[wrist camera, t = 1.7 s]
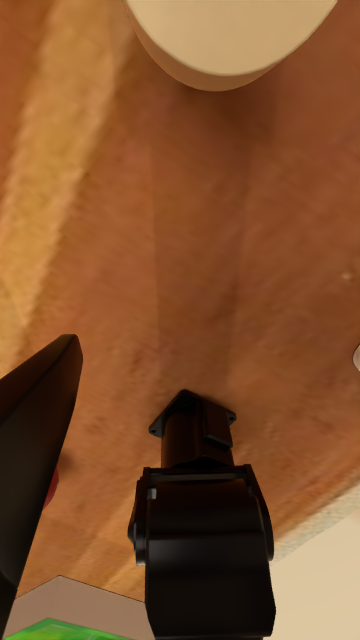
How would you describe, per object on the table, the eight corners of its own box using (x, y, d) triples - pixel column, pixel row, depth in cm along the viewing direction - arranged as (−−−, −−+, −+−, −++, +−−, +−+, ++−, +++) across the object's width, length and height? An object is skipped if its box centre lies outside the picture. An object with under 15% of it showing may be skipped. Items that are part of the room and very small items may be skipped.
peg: (209, 137, 17) (254, 128, 8) (120, 65, 15) (49, -50, 6) (278, 23, 15) (450, -170, 6) (182, -78, 13) (209, -593, 4)
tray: (-18, 616, 56) (-34, 656, 51) (59, 575, 47) (47, 618, 43) (89, 641, 65) (84, 676, 61) (169, 611, 57) (169, 649, 52)
